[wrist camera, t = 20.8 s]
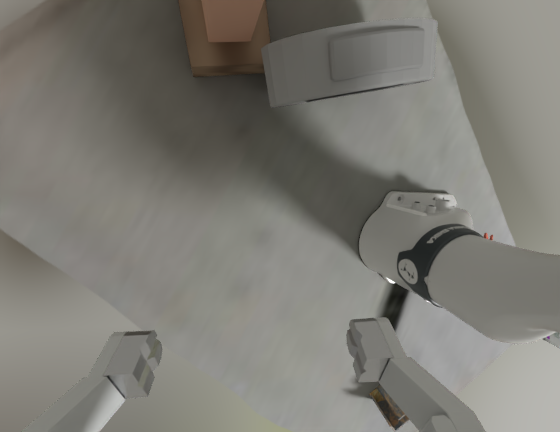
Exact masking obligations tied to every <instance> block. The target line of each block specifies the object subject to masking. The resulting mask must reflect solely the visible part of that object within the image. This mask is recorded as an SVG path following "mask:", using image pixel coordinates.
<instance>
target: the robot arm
mask: <svg viewBox="0 0 560 432" xmlns="http://www.w3.org/2000/svg"><path fill="white" fill-rule="evenodd" d="M398 197H399V199H398ZM492 240H493V235H491V236H490V240H489V239H488V235H487V233H485V234H484V237H483V236H481V235H480V234H479V233H477V232H475V231H474V230H473V221H472V218H471V216H470V214H469V213H468V212H467V211H466V210H463V209H460V208H458V206H457V202H456V200H455V197H454V196H453V195H451V194H447V193H424V192H400V191H391V192H389V193H388V194H387V196H386V197H385V199H384V201H383V203H382V205H381V206H380V207H379V208H378V209H377V210H376V211H375V212H374V213H373V214H372V215H371V216H370V218H369V219H368V220H367V222H366V223H365V225H364V227H363V229H362V232H361V235H360V240H359V252H360V256H361V258H362V261H363V262H364V264H365V265H366V266H367V267H368V268H369V269H371V270H373V271H375V272H377V273H379V274H381V275H382V276H383V278H384V279H385V280H386V281H388V282H389V283H397V284H399V285H400V286H402V287H404V288H406V289H408V290H409V291H411V292H413V293H415V294H417V295H419V296H421V297H422V298H423V299H424V300H426V301H427V302H429V303H432V304H433V305H435V306H437V307H441V308H444V309H446V310H447V311H449V312H450V313H452V314H453V315H455V316H456V317H458V318H459V319H461V320H462V321H464V322H465V323H467V324H468V325H470V326H471V327H473V328H474V329H476V330H477V331H479V332H480V333H482V334H483V335H485V336H486V337H488V338H490V339H492V340H495V341H499V342H503V343H510V344H527V343H532V342H535V341H538V340H540V339H543V338H545V337H547V336H550V335H551V334H553V333H555V332H558V333H560V255H554V254H546V253H540V252H535V251H531V250H527V249H522V248H518V247H514V246H511V245H507V244H503V243H500V242H496V241H492ZM349 326H350V329H349V330H348V331H347V335H346V336H347V346H348V350H349V353H350V354H351V356H352V357H353V358H354V359H355V360H354V363H353V367H354V370H355V373H356V377H357V380H358V382H379V384H380V385H381V386H382V387H383V388H384V390H385V391H386V392H387V393H388V394H389V396H390V397H391V398H392V399H393V400H394V402H395V403H396V404H397V405H398V406H399V407H400V409H401V410H402V411H403V412H404V413H405V415H406V416H407V417H408V418H409V419H410V421H411V422H412V423H413V424H414V425H415V426H416V428H417V429H418V430H419V432H485V430H484V428H483V426H482V425H481V423H480V421H479V420H478V418H477V416H476V415H475V413H474V412H473V411H472V410H471V409H470V408H469V407H468V406H466V405H465V404H464V403H463V402H462V401H460V400H459V399H458V398H457V397H456V396H455V395H454V394H453V393H451V392H450V391H449V390H448V389H447V388H446V387H444V386H443V385H442V384H441V383H440V382H439V381H438V380H436V379H435V378H434V377H433V376H432V375H431V374H429V373H428V372H427V371H426V370H425V369H424V368H423V367H421V366H420V365H419V364H418V363H417V362H416V361H415V360H413V359H412V358H411V357H407V356H406V354H405V352H404V350H403V348H402V346H401V344H400V342H399V340H398V338H397V336H396V334H395V332H394V329H393V327H392V325H391V323H390V321H389V320H388V319H387V318H366V319H353V320H350V323H349ZM156 337H157V334H156V332H155V330H153V331H136V332H115V333H113V334H112V335H111V336H110V338H109V339H108V341H107V343H106V345H105V346H104V348H103V350H102V352H101V354H100V355H99V357H98V359H97V361H96V363H95V364H94V366H93V368H92V370H91V372H90V374H89V375H88V377H86V378H83V379H81V380H80V381H79V382H78V383H77V384H75V385H74V386H73V387H72V388H71V389H70V390H69V391H68V392H66V393H65V394H64V395H63V396H62V397H61V398H59V400H57V401H56V402H55V403H54V404H52V405H51V406H50V407H49V408H48V409H47V410H46V411H44V412H43V413H42V414H41V415H40V416H39V417H38V418H37V419H35V420H34V421H33V422H32V423H31V424H30V425H28V426H27V427H26V428H25V429H24V430H23V431H21V432H99V431H100V430H101V429H102V428H103V426H104V425H105V424H106V423H107V422H108V420H109V419H110V418H111V417H112V416H113V414H114V413H115V412H116V411H117V410H118V408H119V407H120V406H121V405H122V404H123V402H124V401H125V399H127V398H137V397H147V396H148V395H149V392H150V389H151V386H152V383H153V380H154V374H153V371H154V370H155V368H156V367H157V366H158V365H159V363H160V360H161V355H162V344H161V342H160V341H159V340H157V339H156Z"/></svg>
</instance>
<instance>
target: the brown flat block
mask: <svg viewBox="0 0 560 432" xmlns="http://www.w3.org/2000/svg"><path fill="white" fill-rule="evenodd" d="M369 395H370V396H371V398H372V399H373V401H374V402H375V404H376V405H377V407H378V408H379V410H380V412H381V413H382V415H383V416H384V418H385V419H386V421H387V422H388V424H389V425H390V427H391V428H392V429H393V430H394V431H395V432H396V431H397V430H398V429H399V428H401V427H402V426H403V425H404V424H405V423H406V422H407V421H409V420H410V419H409V418H408V417H407V416H406V415H405V413H404V412H403V411H402V410H401V409H400V407H399V406H398V405H397V404H396V403H395V402H394V400H393V399H392V398H391V397H390V396H389V394H388V393H387V392H386V391H385V390H384V388H383V387H382V386H381V385H380V386H378V387H377V388H376V389H375V390H374V391H372V392H371V393H370V394H369Z"/></svg>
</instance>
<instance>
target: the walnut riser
mask: <svg viewBox="0 0 560 432" xmlns="http://www.w3.org/2000/svg"><path fill="white" fill-rule="evenodd" d="M178 3H179V8H180V13H181V18H182V23H183V28H184V33H185V39H186V44H187V49H188V54H189V59H190V64H191V69H192V73H193V77H201V76H220V75H239V74H258V73H265V71H264V65H263V59H262V53H261V48H263V47H264V46H265V45H267V44H269V43H270V34H269V25H268V16H267V7H266V0H264V2H263V5H262V8H261V11H260V14H259V17H258V20H257V23H256V26H255V29H254V32H253V35H252V38H251V41H246V42H208V36H207V30H206V24H205V18H204V13H203V7H202V1H201V0H178Z"/></svg>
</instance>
